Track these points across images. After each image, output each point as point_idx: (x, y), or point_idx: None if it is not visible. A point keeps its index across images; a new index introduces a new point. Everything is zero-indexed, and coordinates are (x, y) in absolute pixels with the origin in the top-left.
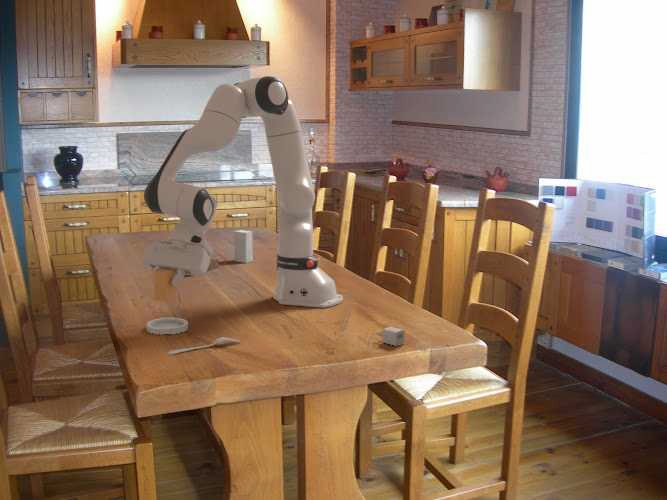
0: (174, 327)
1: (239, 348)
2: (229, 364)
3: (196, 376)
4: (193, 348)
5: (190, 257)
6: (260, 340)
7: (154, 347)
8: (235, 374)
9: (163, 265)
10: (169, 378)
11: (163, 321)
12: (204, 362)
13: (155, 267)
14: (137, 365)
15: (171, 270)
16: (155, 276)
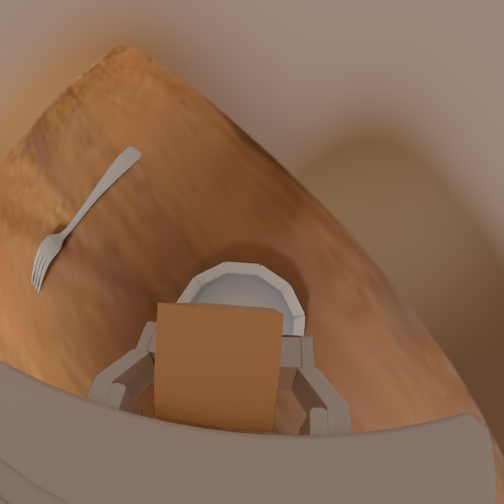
0: (191, 296)
1: (27, 247)
2: (29, 164)
3: (64, 101)
4: (92, 194)
5: (19, 465)
6: (14, 311)
7: (183, 169)
8: (22, 137)
9: (262, 434)
10: (97, 76)
11: None
12: (61, 149)
13: (343, 419)
14: (166, 82)
15: (176, 404)
16: (269, 311)
